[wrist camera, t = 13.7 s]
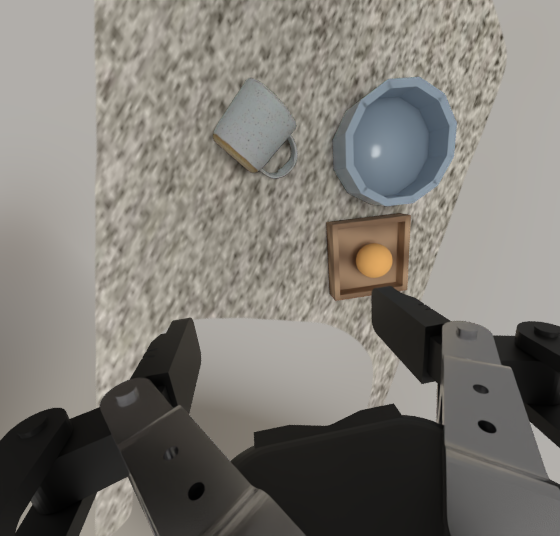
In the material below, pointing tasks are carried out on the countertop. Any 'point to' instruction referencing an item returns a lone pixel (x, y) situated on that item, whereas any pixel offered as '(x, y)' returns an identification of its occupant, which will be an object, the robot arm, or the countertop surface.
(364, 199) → the faceted grey bowl
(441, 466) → the robot arm
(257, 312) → the countertop surface
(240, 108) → the ceramic mug
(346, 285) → the tray
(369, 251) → the ball
